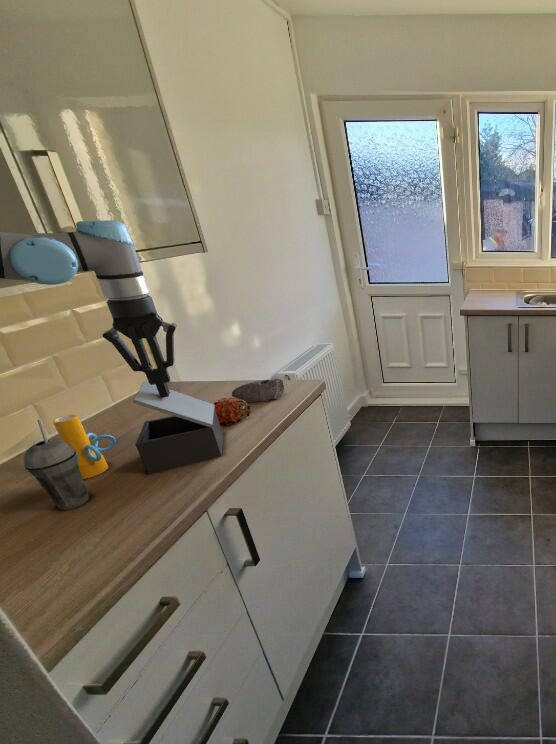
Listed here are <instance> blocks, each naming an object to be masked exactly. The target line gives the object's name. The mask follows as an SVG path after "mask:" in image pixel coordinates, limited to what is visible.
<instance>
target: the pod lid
mask: <svg viewBox="0 0 556 744" xmlns="http://www.w3.org/2000/svg"><path fill="white" fill-rule="evenodd" d="M168 389H169V392H170V394H169V397H164V398H160V395H159V392H158V390H157V387H156V385H155V384H154V385H150V384H149V382H148V380H143V382H142V383H141V386H140V387H139V389H138V391H137V392H136V395H135V397H134V398H133V400H132V402H131V403H132V404H136V405H138V406H141V407H145V408H148V409H151V410H153V411H158V412H161V413H164V414H167V415H170V416H176V417H179V418H182V419H186V420H189V421H192V422H195V423H198V424H201V425H205V426H208V427H211V426H212V423H213V415H214V406H215V405H214V403H211V402H207V401H205V400H201V399H199V398H196V397H193V396H190V395H187V394H185V393H182V392H179V391H176V390H173V389H170V388H168Z"/></svg>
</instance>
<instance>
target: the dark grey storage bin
mask: <svg viewBox="0 0 556 744" xmlns="http://www.w3.org/2000/svg"><path fill="white" fill-rule="evenodd" d="M223 436H224V433H223V431H222V427H221V423H219V421H218V418H217V415H216V411H215V408H214V415H213V423H212V426H211V427H208V426H205V425H201V424H198V423H195V422H192V421H189V420H186V419H182V418H179V417H176V416H173V415H170V416H167V417H161V418H156V419H150V420H146V421H144V423H143V425H142V427H141V430H140V432H139V435H138V437H137V439H136V442H135V447H136V450H137V451H138V454H139V457H140V458H141V461H142V464H143V466H144V468H145V471H146V473H147V475H151V474H154V473H158V472H161V471H166V470H169V469H170V470H171V469H174V468H179V467H182V466H186V465H191V464H195V463H199V462H203V461H207V460H211V459H215V458H220V457H222V456H223V455H222V454H223V440H224V439H223V438H224V437H223Z"/></svg>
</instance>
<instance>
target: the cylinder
mask: <svg viewBox="0 0 556 744" xmlns="http://www.w3.org/2000/svg"><path fill="white" fill-rule="evenodd" d="M51 422H52V424H53V426H54V428H55V430H56V432H57V434H58V436H59V438H60V439H61V440H60V441H62V442H65V443H67V444H68V445H70V446H71V447H72V449H73V450H75V452H76V456H77V461H78V462H77V464H78V467H79V469H80V472H81V475H82V478H83V480H85V479H90V478H93V477H96V476H98V475H101V474H102V473H104V472H105V471H107V470H108V469H109V465H108V463H107V461H106V459H105V457H104V455H103V452H104V453H105V452H108V451H110V450H112V449H114V447H115V446H116V444H117V440H116V438H115V437H114V436H113V435H110V434H100V435H98V436H97V434H95V433H94V432H88V433H86V430H85V428H84V426H83V424H82V422H81V420H80V418H79V415H78V414H77V413H70V414H64V415H60V416H57V417H55V418H54V419H53V420H52V421H51ZM90 437H91V438H92V440H90ZM102 439H109V440H110V442H111V443H110V444H109V446H107V447H104V448H102V447H101V448H100V447H98V446H99V440H102Z"/></svg>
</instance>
